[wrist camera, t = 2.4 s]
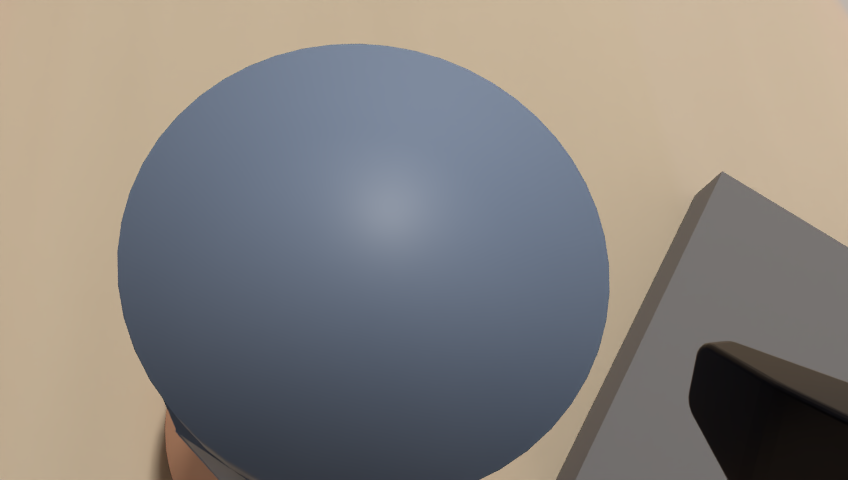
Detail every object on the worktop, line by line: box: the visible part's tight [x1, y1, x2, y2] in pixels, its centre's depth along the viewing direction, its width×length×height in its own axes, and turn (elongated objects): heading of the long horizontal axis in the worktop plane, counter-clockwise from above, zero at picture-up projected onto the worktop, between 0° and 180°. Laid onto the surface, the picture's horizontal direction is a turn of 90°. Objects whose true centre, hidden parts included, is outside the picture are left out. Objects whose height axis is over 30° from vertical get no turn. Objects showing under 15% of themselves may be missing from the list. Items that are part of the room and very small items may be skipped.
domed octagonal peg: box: [118, 44, 609, 480], centre depth 12 cm, size 5×5×10 cm
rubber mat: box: [556, 171, 848, 480], centre depth 19 cm, size 10×10×2 cm
